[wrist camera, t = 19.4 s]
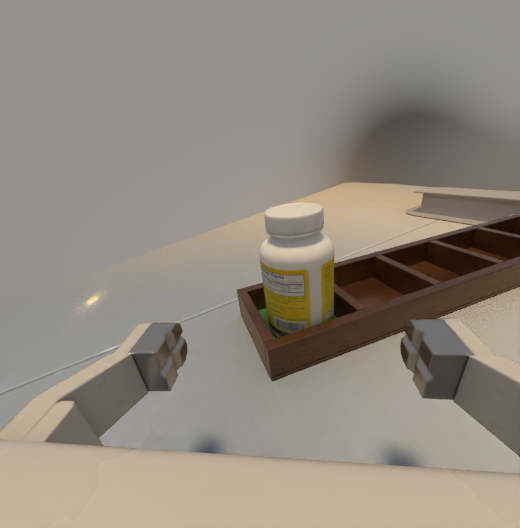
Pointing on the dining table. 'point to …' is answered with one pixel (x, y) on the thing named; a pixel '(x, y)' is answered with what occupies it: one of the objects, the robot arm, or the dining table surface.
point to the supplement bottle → (297, 268)
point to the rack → (393, 293)
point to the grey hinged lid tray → (466, 204)
